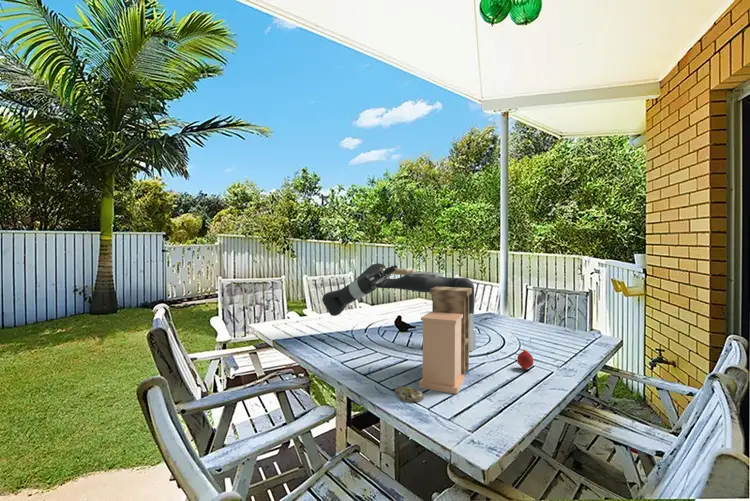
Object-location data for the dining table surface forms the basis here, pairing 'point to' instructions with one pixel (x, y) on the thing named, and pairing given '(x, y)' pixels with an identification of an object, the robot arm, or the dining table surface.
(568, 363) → the dining table surface
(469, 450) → the dining table surface
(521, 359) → the onion
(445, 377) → the terracotta pedestal
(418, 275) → the trowel
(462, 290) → the plant stand
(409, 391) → the mineral rock
